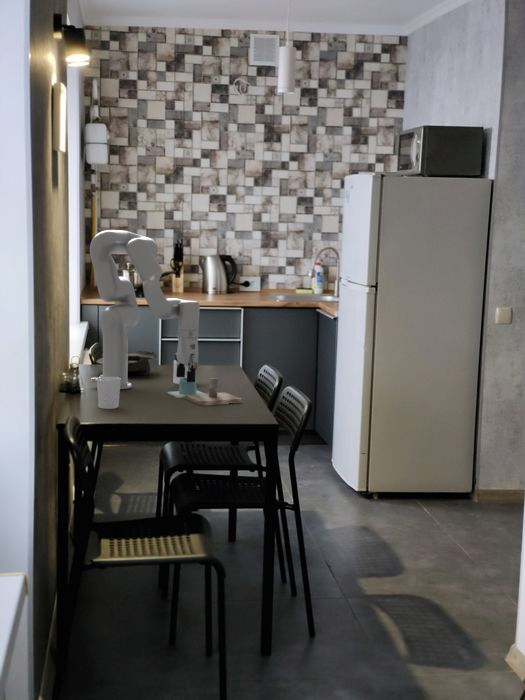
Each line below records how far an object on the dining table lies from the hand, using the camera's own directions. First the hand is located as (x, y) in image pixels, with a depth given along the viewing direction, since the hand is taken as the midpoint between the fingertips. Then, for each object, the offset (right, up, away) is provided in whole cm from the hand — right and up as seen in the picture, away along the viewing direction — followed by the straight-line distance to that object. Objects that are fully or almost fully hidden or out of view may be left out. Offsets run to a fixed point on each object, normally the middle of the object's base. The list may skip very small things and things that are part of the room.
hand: (185, 379), depth 344 cm
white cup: (-24, -9, -27) cm, 38 cm away
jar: (-3, -3, +26) cm, 26 cm away
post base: (+11, -7, -10) cm, 16 cm away
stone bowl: (-29, +1, +45) cm, 54 cm away
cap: (+1, -5, 0) cm, 5 cm away
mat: (+1, -6, 0) cm, 6 cm away
